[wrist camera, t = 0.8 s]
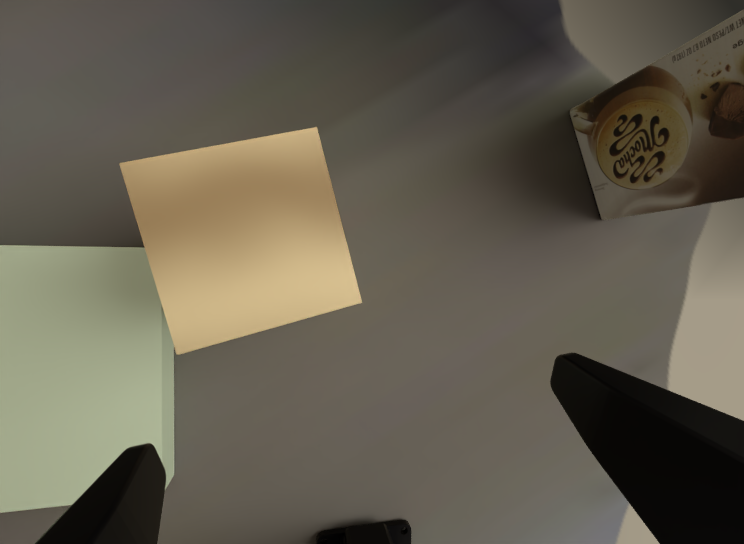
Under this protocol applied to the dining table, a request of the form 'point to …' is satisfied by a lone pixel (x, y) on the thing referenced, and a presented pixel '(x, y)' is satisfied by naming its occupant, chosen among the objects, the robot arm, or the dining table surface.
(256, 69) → the dining table surface
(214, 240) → the oak brick
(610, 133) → the coffee box
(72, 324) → the sage baseplate
